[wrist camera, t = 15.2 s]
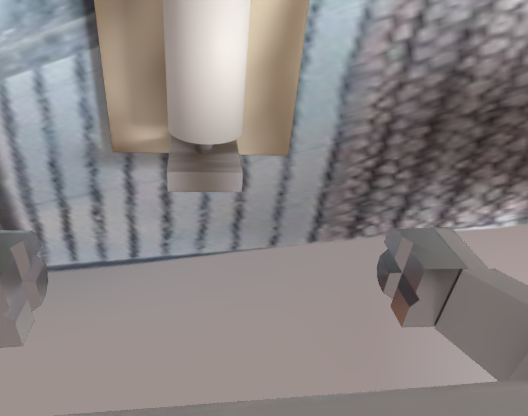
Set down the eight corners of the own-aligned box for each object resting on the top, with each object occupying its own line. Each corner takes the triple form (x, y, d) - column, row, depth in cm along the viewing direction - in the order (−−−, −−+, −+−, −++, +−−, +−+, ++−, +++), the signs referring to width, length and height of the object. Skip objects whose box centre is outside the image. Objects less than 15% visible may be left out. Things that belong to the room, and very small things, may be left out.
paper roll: (192, -44, 26) (141, -47, 21) (266, -35, 24) (226, -37, 20) (194, 115, 31) (153, 136, 27) (253, 130, 30) (220, 155, 26)
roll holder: (316, -78, 26) (351, -85, 20) (286, 150, 34) (304, 192, 28) (84, -107, 23) (47, -124, 17) (114, 146, 32) (97, 191, 26)
